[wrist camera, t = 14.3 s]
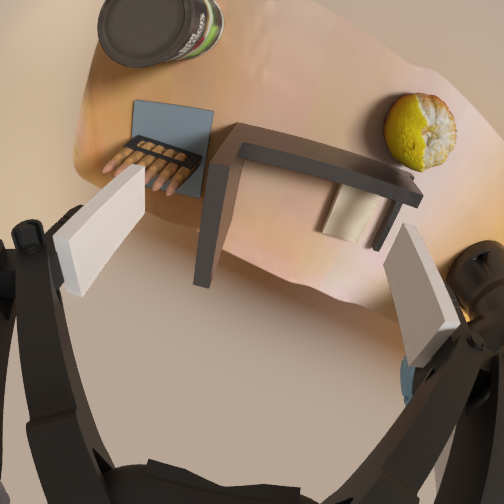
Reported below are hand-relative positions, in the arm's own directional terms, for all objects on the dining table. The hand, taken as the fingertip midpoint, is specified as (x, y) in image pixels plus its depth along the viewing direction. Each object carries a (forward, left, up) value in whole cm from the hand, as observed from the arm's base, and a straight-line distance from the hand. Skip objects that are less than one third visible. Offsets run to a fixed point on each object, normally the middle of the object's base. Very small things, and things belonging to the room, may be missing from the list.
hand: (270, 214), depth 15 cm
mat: (+15, +10, -30) cm, 35 cm away
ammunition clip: (+15, +10, -30) cm, 35 cm away
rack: (-8, +13, -30) cm, 34 cm away
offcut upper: (-14, +13, -30) cm, 35 cm away
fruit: (-19, -3, -31) cm, 36 cm away
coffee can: (+15, -9, -30) cm, 35 cm away
